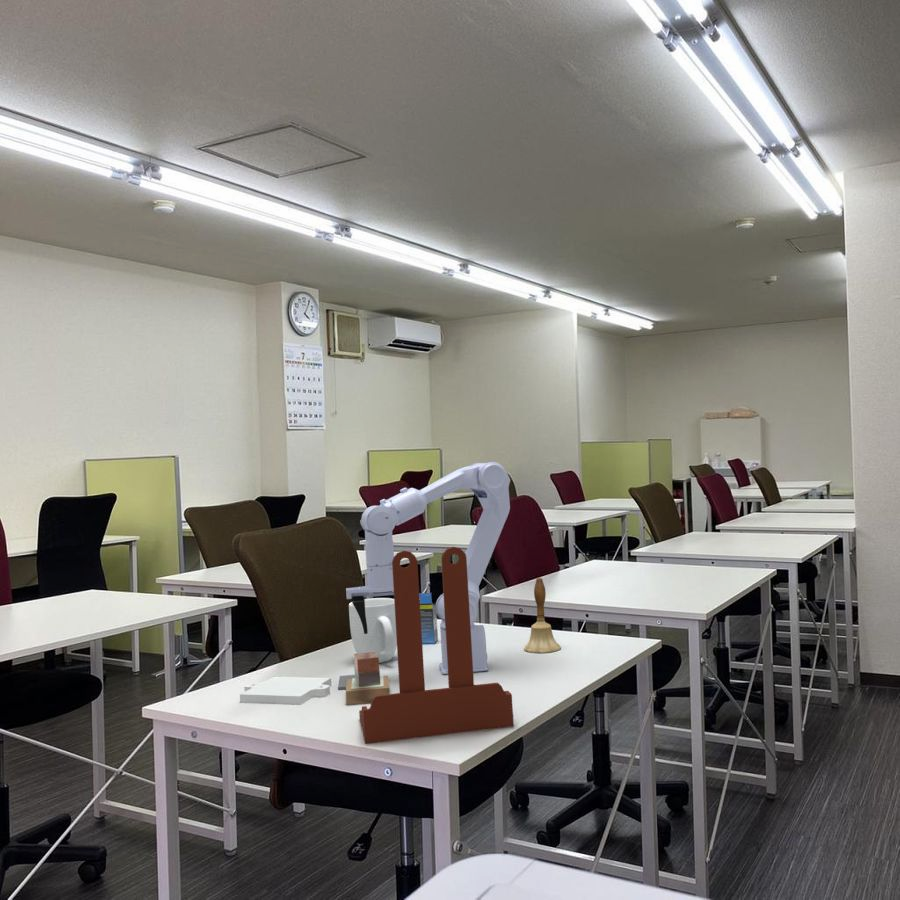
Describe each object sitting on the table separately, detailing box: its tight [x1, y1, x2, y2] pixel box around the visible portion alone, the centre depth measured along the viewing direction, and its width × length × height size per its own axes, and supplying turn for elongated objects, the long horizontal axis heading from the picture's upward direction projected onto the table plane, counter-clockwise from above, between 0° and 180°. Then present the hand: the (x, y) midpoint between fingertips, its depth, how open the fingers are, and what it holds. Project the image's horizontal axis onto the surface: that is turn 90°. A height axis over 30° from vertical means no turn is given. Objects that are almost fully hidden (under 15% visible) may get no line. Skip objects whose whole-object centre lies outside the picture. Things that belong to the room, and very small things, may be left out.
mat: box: [337, 674, 355, 691], centre depth 172 cm, size 8×9×1 cm
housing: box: [353, 652, 381, 687], centre depth 161 cm, size 4×6×5 cm, turn 14°
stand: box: [345, 675, 390, 706], centre depth 161 cm, size 8×9×3 cm
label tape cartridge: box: [419, 592, 439, 645], centre depth 206 cm, size 9×4×12 cm, turn 77°
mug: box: [348, 597, 397, 664], centre depth 188 cm, size 15×11×13 cm
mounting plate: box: [239, 676, 332, 706], centre depth 166 cm, size 18×13×2 cm
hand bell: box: [523, 577, 562, 654], centre depth 191 cm, size 8×8×16 cm
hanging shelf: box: [358, 546, 515, 745], centre depth 143 cm, size 24×13×30 cm, turn 100°
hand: (384, 631), depth 172 cm, fingers open, 7 cm apart
